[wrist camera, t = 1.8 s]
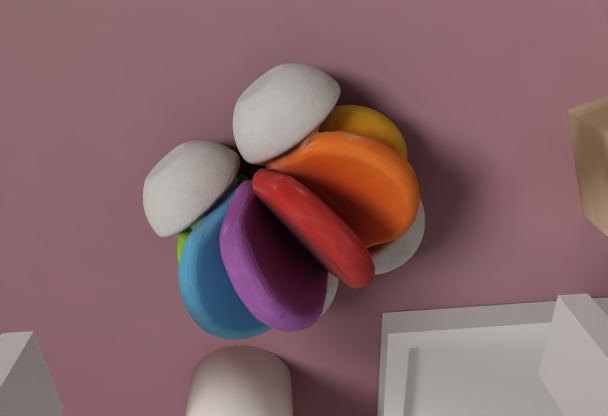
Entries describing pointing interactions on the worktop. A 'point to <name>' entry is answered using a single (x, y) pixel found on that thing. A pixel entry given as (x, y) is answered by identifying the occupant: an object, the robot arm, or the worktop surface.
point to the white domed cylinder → (240, 384)
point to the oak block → (591, 158)
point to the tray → (467, 361)
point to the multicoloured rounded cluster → (286, 206)
